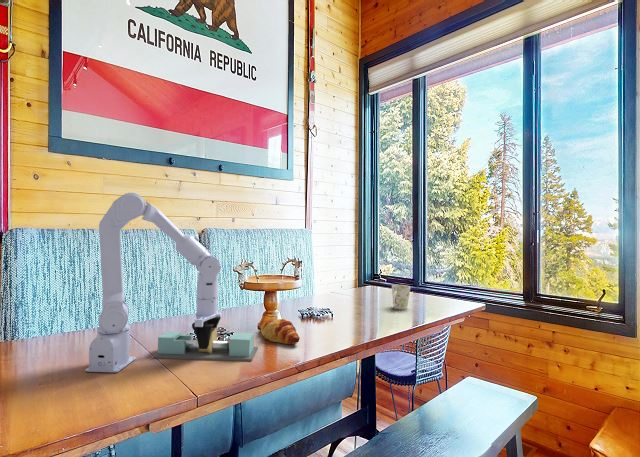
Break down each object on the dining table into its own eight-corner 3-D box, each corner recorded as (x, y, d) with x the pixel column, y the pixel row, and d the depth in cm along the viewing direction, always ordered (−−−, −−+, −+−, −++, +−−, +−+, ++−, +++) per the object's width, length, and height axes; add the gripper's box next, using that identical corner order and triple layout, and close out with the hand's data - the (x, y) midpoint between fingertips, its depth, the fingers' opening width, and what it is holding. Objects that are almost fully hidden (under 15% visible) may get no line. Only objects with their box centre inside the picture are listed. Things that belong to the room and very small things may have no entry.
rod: (169, 352, 103) (170, 330, 103) (176, 346, 107) (177, 325, 107) (226, 353, 103) (227, 332, 103) (230, 348, 107) (231, 327, 107)
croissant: (255, 341, 127) (245, 322, 125) (277, 324, 133) (268, 305, 130) (291, 359, 111) (280, 337, 108) (314, 338, 116) (305, 317, 114)
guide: (153, 358, 100) (153, 339, 100) (168, 345, 110) (169, 328, 110) (251, 361, 100) (251, 342, 100) (257, 348, 110) (258, 331, 110)
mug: (412, 307, 171) (412, 286, 171) (402, 313, 160) (403, 289, 160) (394, 305, 175) (395, 284, 175) (384, 310, 164) (385, 287, 164)
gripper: (214, 303, 98) (212, 354, 98) (228, 293, 112) (226, 337, 112) (187, 302, 98) (186, 354, 98) (204, 292, 112) (203, 337, 112)
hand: (206, 345), depth 105 cm, fingers closed on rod, 5 cm apart
